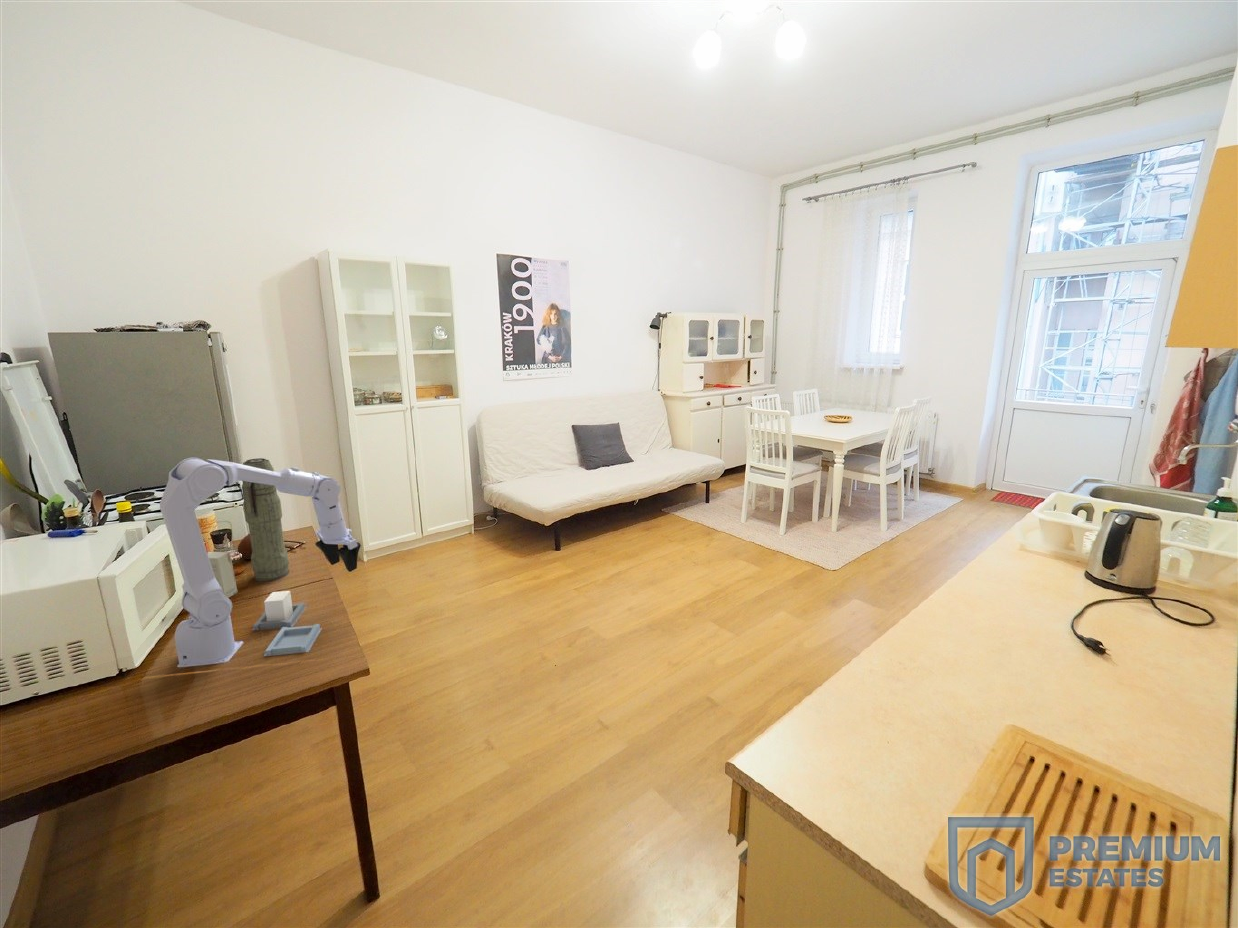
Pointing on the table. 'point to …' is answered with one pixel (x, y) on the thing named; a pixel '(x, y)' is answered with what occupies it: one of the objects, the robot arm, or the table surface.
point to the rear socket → (291, 621)
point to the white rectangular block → (278, 606)
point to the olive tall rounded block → (265, 526)
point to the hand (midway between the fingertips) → (343, 566)
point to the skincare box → (223, 572)
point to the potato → (245, 547)
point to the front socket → (293, 640)
